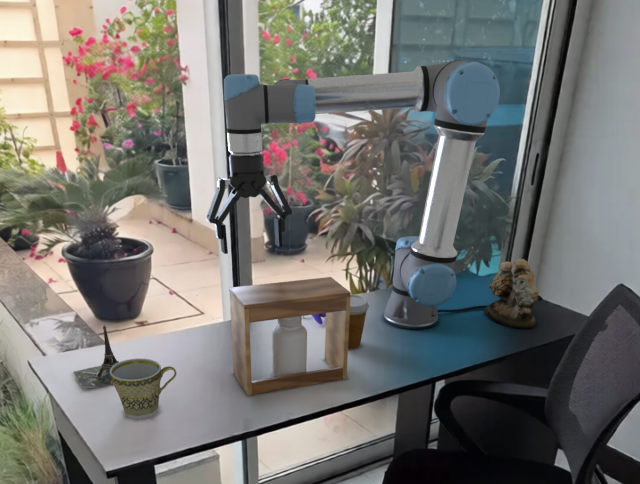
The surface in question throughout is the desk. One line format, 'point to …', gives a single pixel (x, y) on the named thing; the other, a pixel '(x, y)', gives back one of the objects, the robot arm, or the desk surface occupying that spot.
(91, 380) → the eiffel tower souvenir
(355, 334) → the disposable coffee cup
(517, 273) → the owl figurine
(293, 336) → the pill bottle
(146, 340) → the desk surface
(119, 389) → the ceramic cup
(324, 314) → the game controller
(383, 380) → the desk surface
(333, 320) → the open wooden shelf
